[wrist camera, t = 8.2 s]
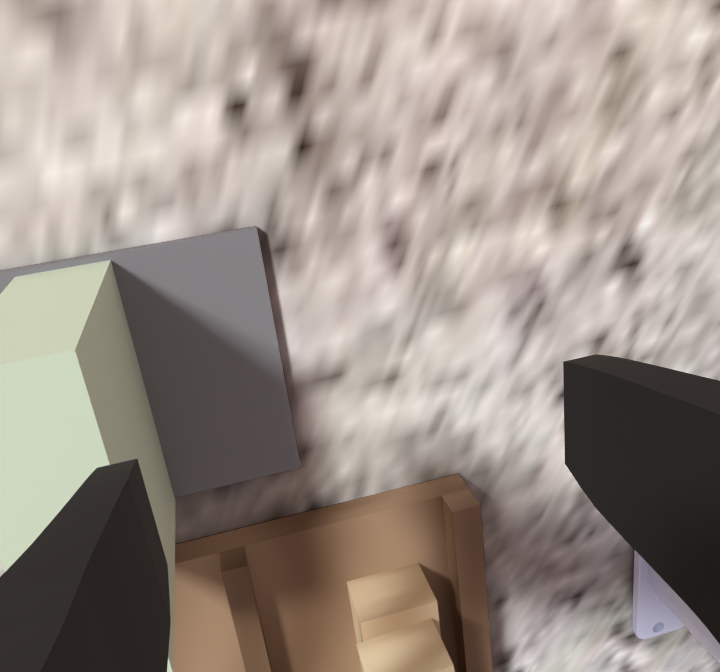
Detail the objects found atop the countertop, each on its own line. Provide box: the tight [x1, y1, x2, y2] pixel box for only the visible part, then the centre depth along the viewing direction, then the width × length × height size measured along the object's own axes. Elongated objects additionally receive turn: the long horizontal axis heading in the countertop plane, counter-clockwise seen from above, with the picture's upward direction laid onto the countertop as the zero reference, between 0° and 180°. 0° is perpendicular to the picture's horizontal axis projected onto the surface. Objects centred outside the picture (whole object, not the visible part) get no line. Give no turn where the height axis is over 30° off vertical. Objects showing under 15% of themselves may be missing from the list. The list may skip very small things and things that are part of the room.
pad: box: [0, 226, 301, 498], centre depth 20 cm, size 10×8×1 cm
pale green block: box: [0, 260, 176, 672], centre depth 17 cm, size 2×8×7 cm, turn 7°
